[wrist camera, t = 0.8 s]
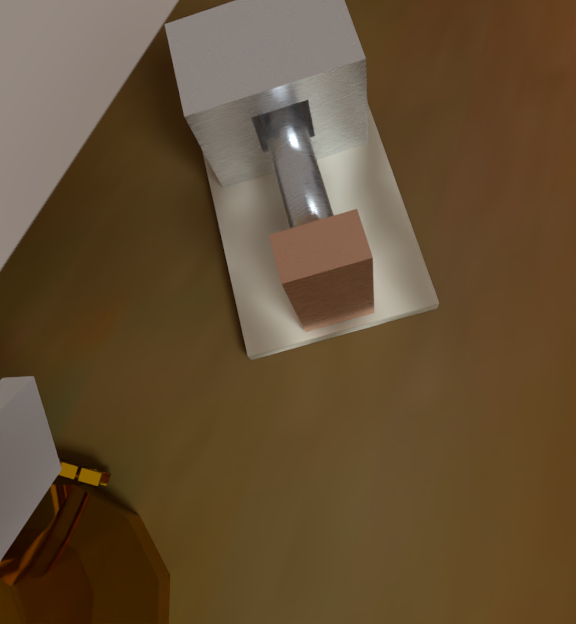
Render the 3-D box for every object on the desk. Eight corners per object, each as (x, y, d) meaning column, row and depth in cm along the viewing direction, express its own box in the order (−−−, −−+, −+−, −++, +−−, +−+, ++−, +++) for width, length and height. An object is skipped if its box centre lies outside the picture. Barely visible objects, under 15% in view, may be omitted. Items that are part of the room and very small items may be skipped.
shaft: (312, 114, 43) (293, 12, 33) (374, 312, 37) (372, 257, 28) (253, 132, 43) (218, 36, 34) (305, 332, 38) (281, 283, 28)
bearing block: (341, 65, 44) (332, -33, 36) (368, 143, 42) (365, 58, 33) (204, 109, 45) (164, 24, 37) (223, 188, 42) (184, 116, 34)
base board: (350, 63, 45) (349, 52, 44) (437, 308, 38) (439, 303, 37) (196, 112, 47) (191, 103, 45) (251, 359, 39) (247, 356, 38)
